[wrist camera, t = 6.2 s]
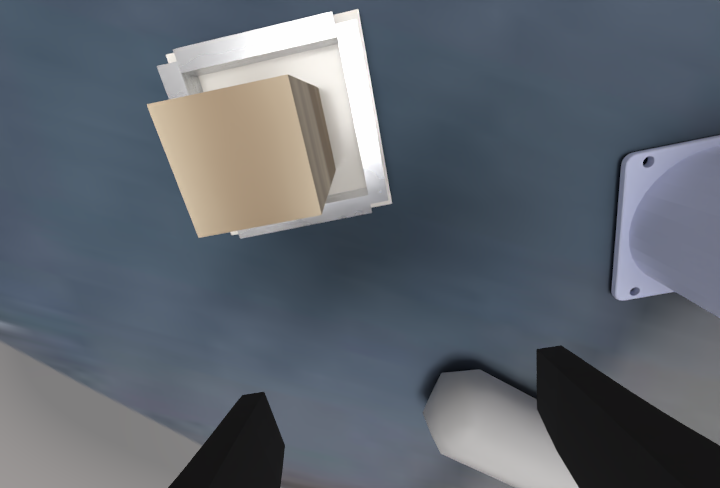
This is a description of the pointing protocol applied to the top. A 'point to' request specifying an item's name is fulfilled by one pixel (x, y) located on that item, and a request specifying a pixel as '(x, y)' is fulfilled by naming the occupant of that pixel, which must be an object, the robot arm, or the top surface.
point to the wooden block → (248, 153)
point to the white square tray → (281, 43)
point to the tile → (330, 79)
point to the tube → (494, 430)
